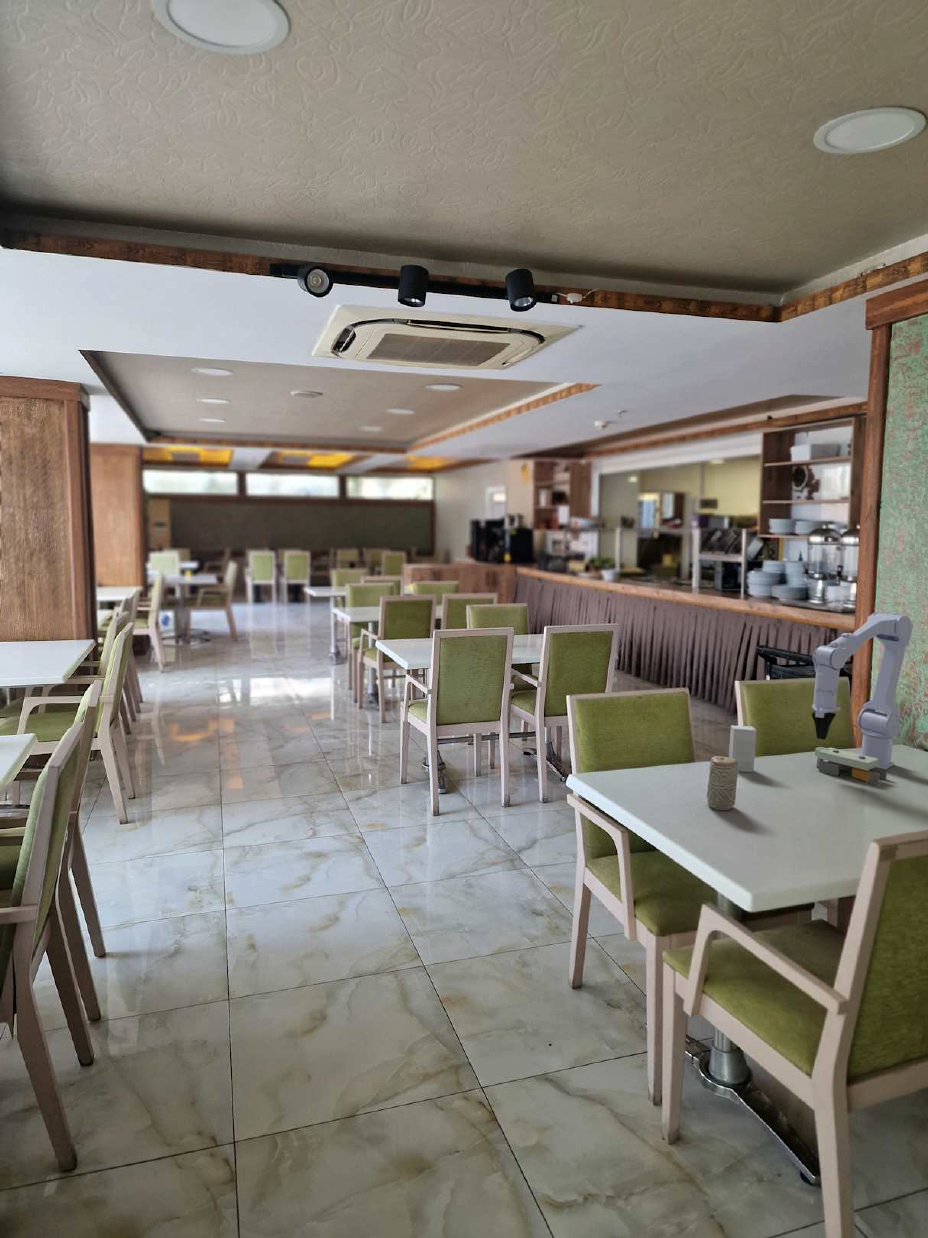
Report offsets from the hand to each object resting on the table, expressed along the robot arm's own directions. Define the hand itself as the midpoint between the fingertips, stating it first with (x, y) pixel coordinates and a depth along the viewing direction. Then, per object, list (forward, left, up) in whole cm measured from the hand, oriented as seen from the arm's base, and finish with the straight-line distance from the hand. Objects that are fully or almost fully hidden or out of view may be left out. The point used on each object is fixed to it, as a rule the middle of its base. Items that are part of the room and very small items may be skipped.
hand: (821, 738), depth 211 cm
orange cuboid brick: (-6, +10, -10) cm, 15 cm away
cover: (-5, +5, -10) cm, 12 cm away
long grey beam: (-6, +7, -10) cm, 14 cm away
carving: (+47, -6, -10) cm, 48 cm away
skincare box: (+14, -16, -10) cm, 24 cm away
